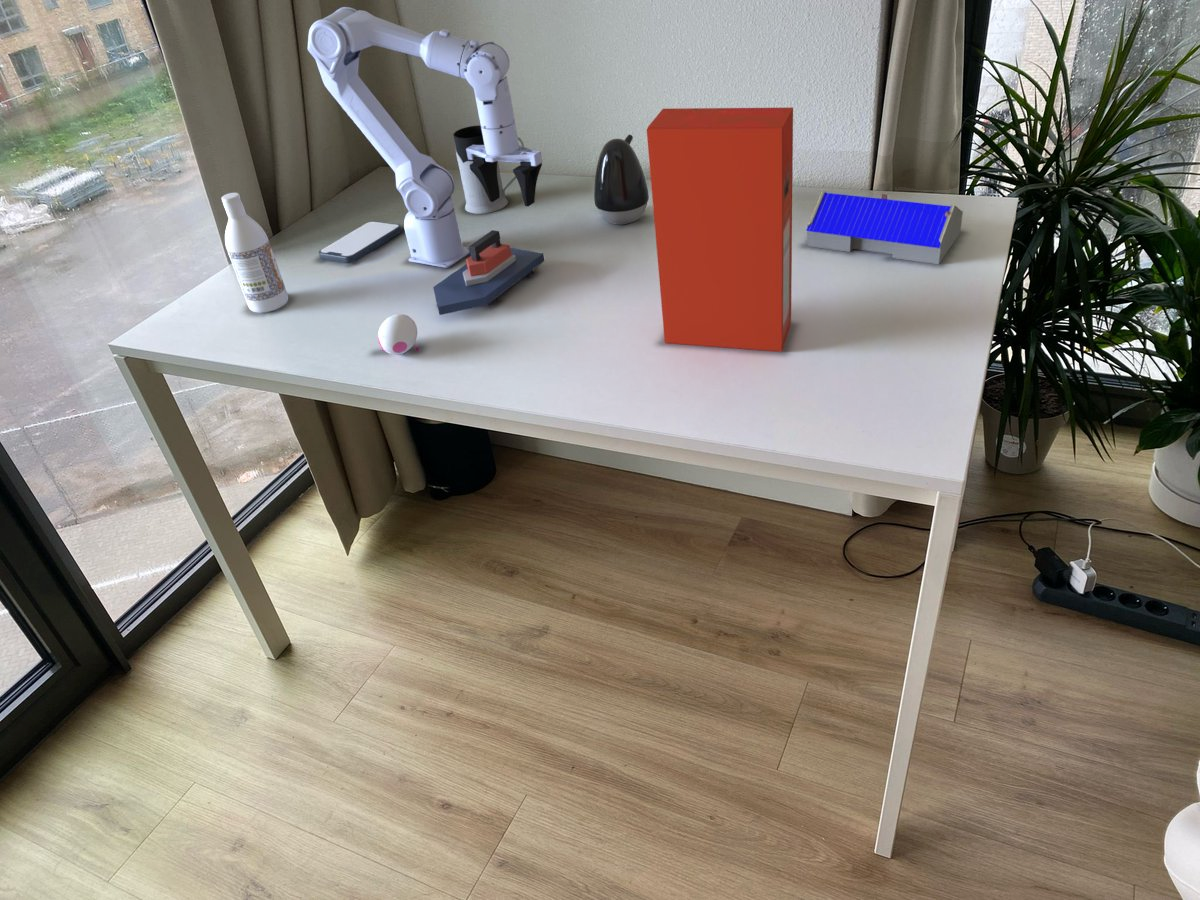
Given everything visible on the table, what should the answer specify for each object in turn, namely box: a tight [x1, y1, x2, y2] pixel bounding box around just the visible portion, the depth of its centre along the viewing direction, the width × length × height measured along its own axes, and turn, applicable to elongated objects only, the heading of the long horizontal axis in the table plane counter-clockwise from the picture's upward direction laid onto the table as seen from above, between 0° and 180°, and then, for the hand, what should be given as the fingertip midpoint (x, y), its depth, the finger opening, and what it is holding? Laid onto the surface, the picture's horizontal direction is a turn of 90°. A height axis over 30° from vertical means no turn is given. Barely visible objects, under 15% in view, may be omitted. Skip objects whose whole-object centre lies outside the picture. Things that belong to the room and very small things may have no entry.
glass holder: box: [452, 124, 525, 215], centre depth 185 cm, size 9×14×15 cm, turn 82°
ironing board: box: [432, 247, 545, 316], centre depth 157 cm, size 11×22×3 cm, turn 149°
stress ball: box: [377, 313, 420, 356], centre depth 144 cm, size 8×8×7 cm
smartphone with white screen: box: [318, 220, 403, 264], centre depth 180 cm, size 9×2×16 cm
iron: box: [463, 229, 516, 286], centre depth 156 cm, size 11×5×6 cm, turn 148°
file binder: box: [646, 106, 794, 353], centre depth 128 cm, size 8×17×32 cm, turn 71°
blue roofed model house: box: [805, 190, 964, 265], centre depth 155 cm, size 22×14×7 cm, turn 58°
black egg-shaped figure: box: [593, 134, 650, 225], centre depth 172 cm, size 10×10×15 cm
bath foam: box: [221, 192, 289, 314], centre depth 158 cm, size 7×7×20 cm
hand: (512, 201), depth 162 cm, fingers open, 7 cm apart
